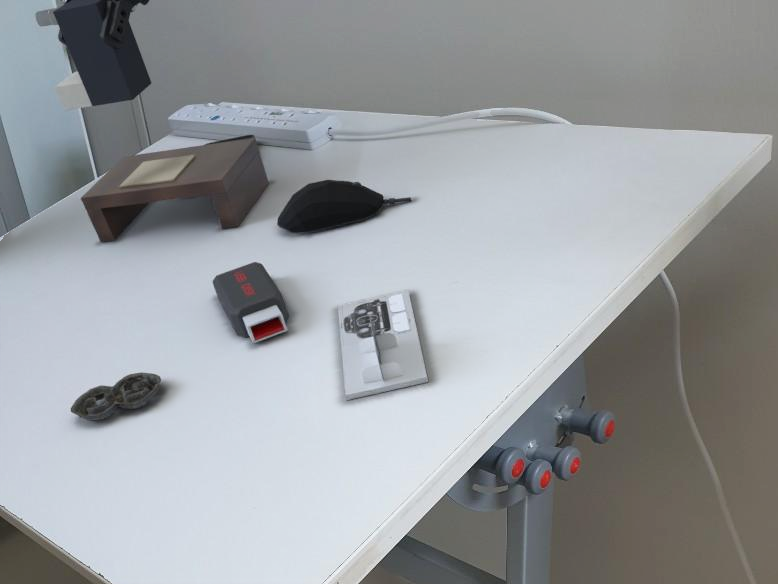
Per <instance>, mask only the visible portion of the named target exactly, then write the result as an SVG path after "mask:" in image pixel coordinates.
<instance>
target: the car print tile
mask: <svg viewBox="0 0 778 584" xmlns="http://www.w3.org/2000/svg"><path fill="white" fill-rule="evenodd" d="M337 315H338V317H337V318H338V329H339V330H338V331H339V340H340V351H341V363H342V374H343V386H344V398H345V400H346V401H349V400H350V401H351V400H354V399H358V398H363V397H368V396H372V395H377V394H381V393H385V392H390V391H394V390H399V389H403V388H408V387H412V386H416V385H421V384H425V383H429V378H428V373H427V369H426V365H425V360H424V354H423V351H422V345H421V341H420V337H419V332H418V328H417V323H416V319H415V314H414V309H413V305H412V300H411V295H410V291H409V289H405V290H401V291H396V292H392V293H387V294H383V295H379V296H374V297H371V298H366V299H365V298H364V299H362V300H356V301H353V302H349V303H344V304H340V305H337Z"/></svg>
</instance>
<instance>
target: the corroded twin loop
mask: <svg viewBox="0 0 778 584" xmlns="http://www.w3.org/2000/svg"><path fill="white" fill-rule="evenodd" d="M161 382H162V378H161V376H160V375H158V374H156V373H151V372H143V371H142V372H136V373H129V374H127V375H125V376H124V377H122V378H121V379H119V380H118V381H117V382H116V383H115V384H114V385H113V386H110V385H109V386H108V385H98V386H94V387H92V388H89V389H88V390H87V391H86V392H84V393H82V394H81V395H80V396H79V397H77V399H76V400H75V401H74V402H73V404H72V405H71V407H70V413H72V414H74V415H76V416H78V418H82V419H84V420H89V421H91V420H92V421H93V420H94V421H100V420H103V419H107V418H108V417H109V416H111V415H114V414H115V412H116V411H117V410H118V408H119V407H121V408H122V409H127V410H131V409H133V410H136V409H139V408H143V407H144V406H145V405H146V404H148V403H150V402H151V401H152V399H154V397H156V396H157V393H158V391H159V390H160V384H161ZM128 391H134V392H133V393H130V394H128V395H126V392H128ZM136 391H137V392H136ZM103 399H104V403H102V404H101V403H100V404H98V401H101V400H103Z"/></svg>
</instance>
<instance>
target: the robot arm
mask: <svg viewBox="0 0 778 584" xmlns="http://www.w3.org/2000/svg"><path fill="white" fill-rule="evenodd" d="M60 1H61V2H62V3H63V5H65V4H66V3H68V2H70V1H71V0H60ZM149 2H150V0H113V1H107V5H106V10H105V14H104V19H103V23H102V28H101V32H100V39H101V40H102V41H103V42H104V43H106V44H107V45H109V46H110V47H112V48H114V49H120V48H122V46H123V41H124V38H125V35H126V30H127V26H128V21H129V22H130V18H131V13H134V12H135V11H136V9H137V8H138V5H139V4H141V5H142V6H147V5H148V3H149ZM57 39H58V42H60V43H61V44H63V45H64V46H66V47H67V45H66V42H65V40H64V37H63V35H62V33H61V30H60V28H59V29H58V34H57Z"/></svg>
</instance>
